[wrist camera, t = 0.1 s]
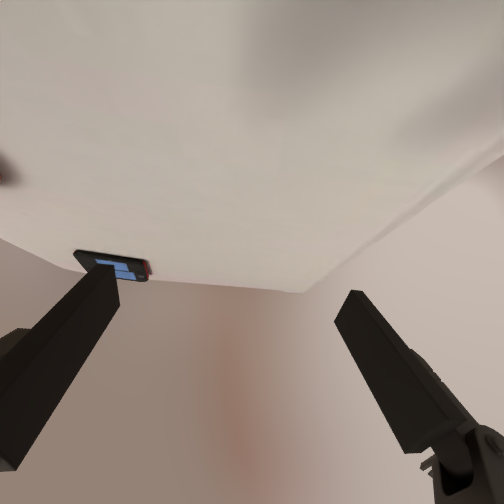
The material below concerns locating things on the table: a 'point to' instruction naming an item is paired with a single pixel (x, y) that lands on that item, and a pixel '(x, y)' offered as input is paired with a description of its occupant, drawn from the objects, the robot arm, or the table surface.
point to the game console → (123, 266)
